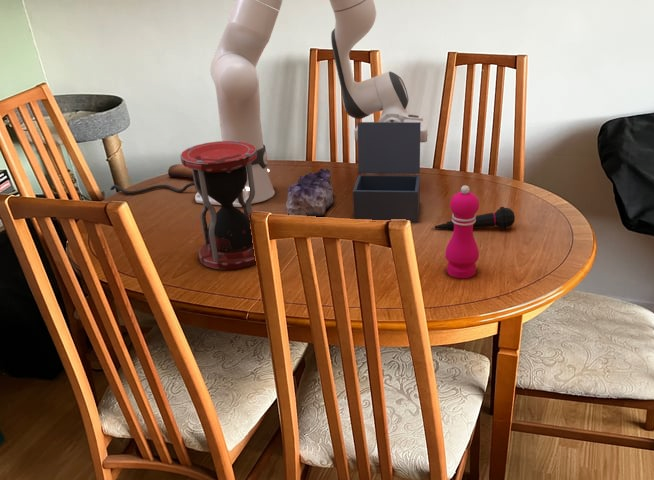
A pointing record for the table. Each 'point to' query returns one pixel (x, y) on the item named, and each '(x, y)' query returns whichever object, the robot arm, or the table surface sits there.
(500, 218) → the microphone
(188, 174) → the sunglasses case
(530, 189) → the table surface
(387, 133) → the lid
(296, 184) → the geode
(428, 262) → the table surface
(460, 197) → the pepper mill
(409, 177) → the case
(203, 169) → the hourglass
